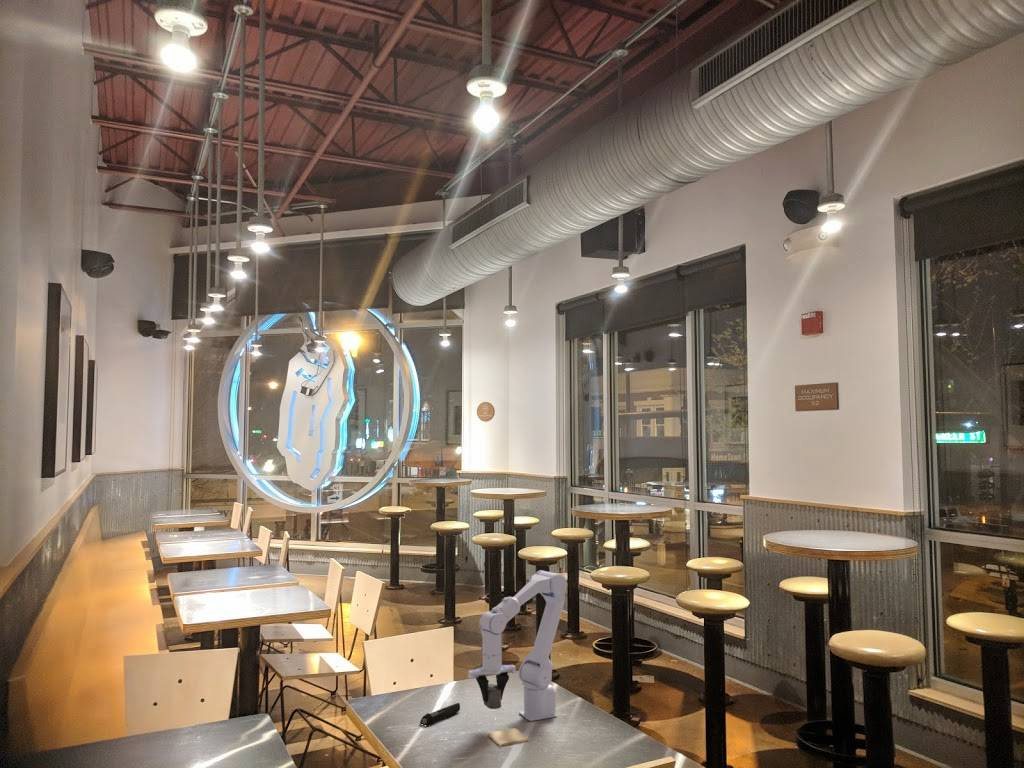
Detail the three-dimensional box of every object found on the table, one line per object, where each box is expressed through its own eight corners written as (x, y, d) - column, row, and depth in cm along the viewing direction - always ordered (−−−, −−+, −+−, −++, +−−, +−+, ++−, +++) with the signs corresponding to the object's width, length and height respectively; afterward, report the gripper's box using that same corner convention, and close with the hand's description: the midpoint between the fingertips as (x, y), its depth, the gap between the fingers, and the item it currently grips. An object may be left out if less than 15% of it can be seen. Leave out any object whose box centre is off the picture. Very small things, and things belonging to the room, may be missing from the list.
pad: (515, 730, 222) (515, 727, 222) (528, 740, 214) (528, 738, 214) (487, 735, 218) (487, 732, 218) (499, 746, 210) (499, 744, 210)
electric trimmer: (463, 713, 237) (463, 703, 237) (427, 727, 225) (427, 716, 225) (454, 711, 239) (454, 701, 239) (419, 724, 227) (419, 714, 227)
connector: (503, 707, 221) (502, 690, 221) (490, 709, 219) (490, 692, 220) (491, 698, 229) (491, 681, 230) (479, 700, 228) (479, 683, 228)
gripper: (474, 659, 218) (474, 707, 217) (519, 653, 224) (520, 700, 223) (465, 653, 224) (466, 700, 223) (510, 648, 230) (510, 693, 229)
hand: (492, 700), depth 223 cm, fingers closed on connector, 4 cm apart
